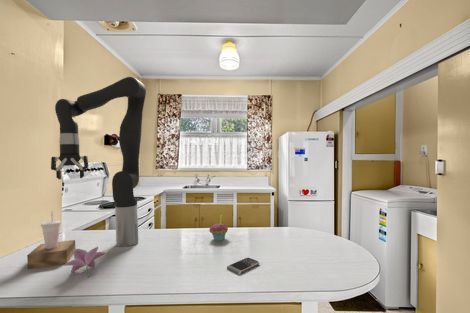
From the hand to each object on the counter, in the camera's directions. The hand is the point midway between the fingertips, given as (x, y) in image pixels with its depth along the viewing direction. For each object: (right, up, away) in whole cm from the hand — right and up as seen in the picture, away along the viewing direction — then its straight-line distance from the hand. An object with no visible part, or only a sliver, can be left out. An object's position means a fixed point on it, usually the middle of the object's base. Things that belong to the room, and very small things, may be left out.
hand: (70, 178), depth 113 cm
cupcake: (+68, -29, +1) cm, 74 cm away
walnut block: (+5, -30, -18) cm, 35 cm away
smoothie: (+5, -25, -18) cm, 31 cm away
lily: (+25, -30, -29) cm, 49 cm away
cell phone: (+79, -29, -28) cm, 89 cm away
